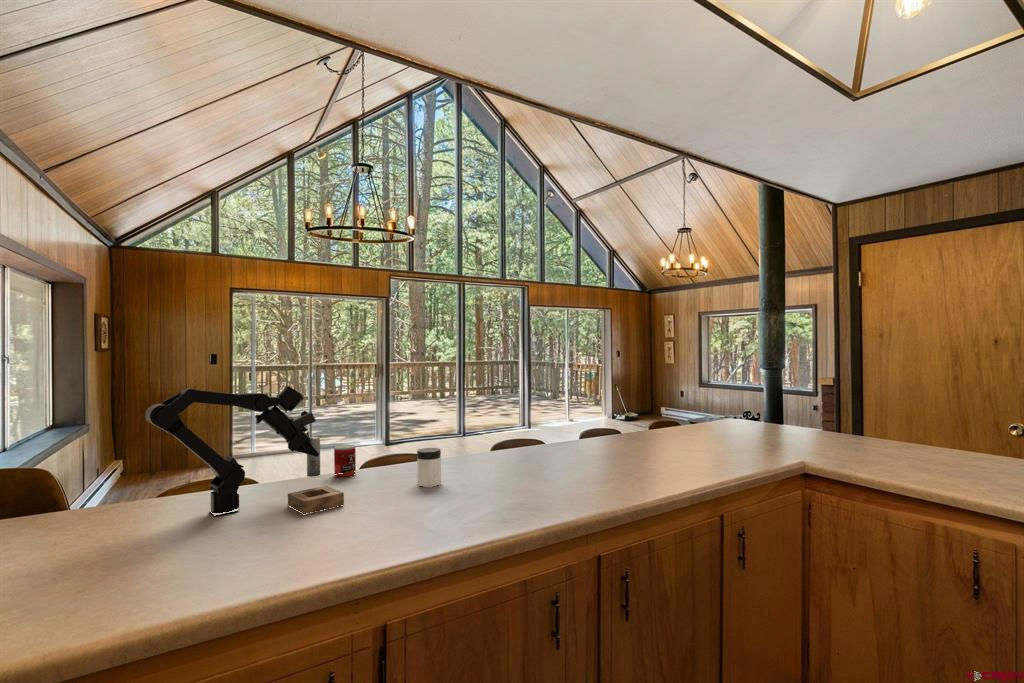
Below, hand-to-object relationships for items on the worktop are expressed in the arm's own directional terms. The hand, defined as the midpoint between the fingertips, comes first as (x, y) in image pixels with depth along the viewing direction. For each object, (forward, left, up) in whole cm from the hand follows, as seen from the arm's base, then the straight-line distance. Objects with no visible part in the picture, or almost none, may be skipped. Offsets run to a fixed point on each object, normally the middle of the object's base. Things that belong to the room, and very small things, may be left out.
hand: (318, 454), depth 162 cm
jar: (+33, -15, -14) cm, 39 cm away
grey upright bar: (-1, +1, -7) cm, 7 cm away
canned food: (+19, +20, -14) cm, 30 cm away
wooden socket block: (-5, -10, -13) cm, 18 cm away
